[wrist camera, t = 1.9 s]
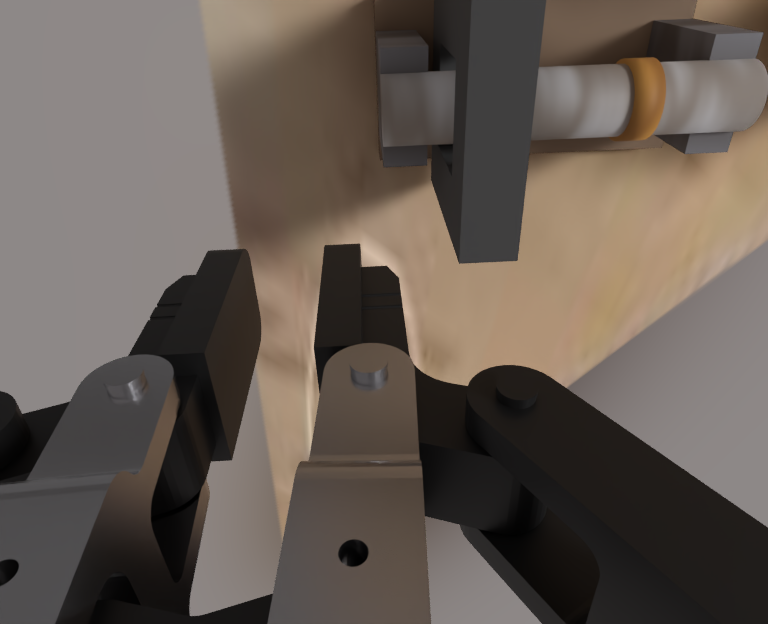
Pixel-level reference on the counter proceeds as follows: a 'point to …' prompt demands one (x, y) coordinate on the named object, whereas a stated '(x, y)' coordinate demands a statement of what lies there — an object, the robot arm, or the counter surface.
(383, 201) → the counter surface
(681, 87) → the pipe stand
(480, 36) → the collar
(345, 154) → the counter surface
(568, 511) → the robot arm
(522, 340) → the counter surface
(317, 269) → the counter surface
